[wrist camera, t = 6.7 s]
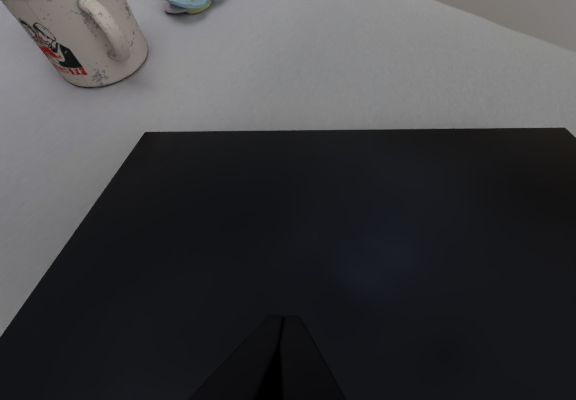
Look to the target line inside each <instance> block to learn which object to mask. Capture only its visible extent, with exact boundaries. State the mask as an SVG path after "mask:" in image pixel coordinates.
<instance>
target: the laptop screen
mask: <svg viewBox="0 0 576 400" xmlns="http://www.w3.org/2000/svg"><path fill="white" fill-rule="evenodd" d="M268 315H283V316H284V317H285V316H286V315H298V316H300V317H301V318H302V320H303V322H304V324H305V325H306V327H307V329H308V331H309V333H310V334H311V336H312V338H313V340H314V342H315V343H316V345H317V347H318V349H319V351H320V352H321V354H322V356H323V358H324V360H325V361H326V363H327V365H328V367H329V369H330V370H331V372H332V374H333V376H334V378H335V379H336V381H337V383H338V385H339V387H340V389H341V390H342V392H343V394H344V396H345V398H346V399H347V400H576V138H575V137H574V136H573V135H572V134H571V133H570V132H569V131H568V130H567V129H566V128H491V129H395V130H299V131H203V132H145V133H144V134H143V136H142V137H141V139H140V140H139V142H138V143H137V144H136V146H135V147H134V149H133V150H132V151H131V153H130V154H129V156H128V157H127V159H126V160H125V161H124V163H123V164H122V166H121V167H120V168H119V170H118V171H117V173H116V174H115V176H114V177H113V178H112V180H111V181H110V183H109V184H108V185H107V187H106V188H105V190H104V191H103V193H102V194H101V195H100V197H99V198H98V200H97V201H96V202H95V204H94V205H93V207H92V208H91V210H90V211H89V212H88V214H87V215H86V217H85V218H84V219H83V221H82V222H81V224H80V225H79V227H78V228H77V229H76V231H75V232H74V234H73V235H72V236H71V238H70V239H69V241H68V242H67V243H66V245H65V246H64V248H63V249H62V251H61V252H60V253H59V255H58V256H57V258H56V259H55V260H54V262H53V263H52V265H51V266H50V268H49V269H48V270H47V272H46V273H45V275H44V276H43V277H42V279H41V280H40V282H39V283H38V285H37V286H36V287H35V289H34V290H33V292H32V293H31V294H30V296H29V297H28V299H27V300H26V302H25V303H24V304H23V306H22V307H21V309H20V310H19V311H18V313H17V314H16V316H15V317H14V319H13V320H12V321H11V323H10V324H9V326H8V327H7V328H6V330H5V331H4V333H3V334H2V336H1V337H0V400H187V399H188V398H189V397H190V396H191V395H192V394H193V393H194V392H195V391H196V390H197V389H198V388H199V387H200V386H201V385H202V384H203V383H204V382H205V381H206V379H207V378H208V377H209V376H210V375H211V374H212V373H213V372H214V371H215V370H216V369H217V368H218V367H219V366H220V365H221V364H222V363H223V362H224V361H225V360H226V359H227V358H228V357H229V356H230V355H231V353H232V352H233V351H234V350H235V349H236V348H237V347H238V346H239V345H240V344H241V343H242V342H243V341H244V340H245V339H246V338H247V337H248V336H249V335H250V334H251V333H252V332H253V331H254V330H255V328H256V327H257V326H258V325H259V324H260V323H261V322H262V321H263V320H264V319H265V318H266V317H267V316H268Z"/></svg>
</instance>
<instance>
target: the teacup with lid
mask: <svg viewBox="0 0 576 400" xmlns="http://www.w3.org/2000/svg"><path fill="white" fill-rule="evenodd" d="M1 1H2V2H3V3H4V5H5V6H6V7H7V8H8V10H9V11H10V12H11V13H12V15H13V16H14V17H15V18H16V19H17V21H18V22H19V23H20V24H21V26H22V27H23V28H24V29H25V31H26V32H27V33H28V34H29V35H30V37H31V38H32V39H33V40H34V42H35V43H36V44H37V45H38V47H39V48H40V49H41V50H42V51H43V53H44V54H45V55H46V56H47V58H48V59H49V60H50V61H51V63H52V64H53V65H54V66H55V67H56V69H57V70H58V71H59V72H60V74H61V75H62V76H63V77H64V78H65V79H66V80H67V81H69V82H70V83H72V84H75V85H78V86H82V87H99V86H105V85H109V84H112V83H115V82H118V81H120V80H122V79H124V78H126V77H128V76H129V75H131V74H132V73H133V72H135V71H136V70H137V69H138V68H139V67H140V66H141V65H142V63H143V62H144V60H145V58H146V56H147V51H148V48H147V43H146V41H145V39H144V36H143V34H142V32H141V30H140V28H139V26H138V24H137V22H136V20H135V18H134V16H133V14H132V12H131V10H130V7H129V5H128V3H127V1H126V0H1Z"/></svg>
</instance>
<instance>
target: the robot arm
mask: <svg viewBox="0 0 576 400" xmlns="http://www.w3.org/2000/svg"><path fill="white" fill-rule="evenodd" d="M187 400H347V399H346V398H345V396H344V394H343V392H342V390H341V389H340V387H339V385H338V383H337V381H336V379H335V378H334V376H333V374H332V372H331V370H330V369H329V367H328V365H327V363H326V361H325V360H324V358H323V356H322V354H321V352H320V351H319V349H318V347H317V345H316V343H315V342H314V340H313V338H312V336H311V334H310V333H309V331H308V329H307V327H306V325H305V324H304V322H303V320H302V318H301V317H300V316H298V315H286V316H285V317H284V316H283V315H268V316H267V317H266V318H265V319H264V320H263V321H262V322H261V323H260V324H259V325H258V326H257V327H256V328H255V330H254V331H253V332H252V333H251V334H250V335H249V336H248V337H247V338H246V339H245V340H244V341H243V342H242V343H241V344H240V345H239V346H238V347H237V348H236V349H235V350H234V351H233V352H232V353H231V355H230V356H229V357H228V358H227V359H226V360H225V361H224V362H223V363H222V364H221V365H220V366H219V367H218V368H217V369H216V370H215V371H214V372H213V373H212V374H211V375H210V376H209V377H208V378H207V379H206V381H205V382H204V383H203V384H202V385H201V386H200V387H199V388H198V389H197V390H196V391H195V392H194V393H193V394H192V395H191V396H190V397H189V398H188V399H187Z"/></svg>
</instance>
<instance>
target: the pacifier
mask: <svg viewBox="0 0 576 400" xmlns="http://www.w3.org/2000/svg"><path fill="white" fill-rule="evenodd" d="M211 2H212V0H165V2H164V5H163V7H164V10H165V11H167V12H168V13H182V12H187V13H199V12H201V11H203V10H205V9H206V8H208V7H209V6H210V4H211ZM173 4H174V5H176V6H174V5H173Z"/></svg>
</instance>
